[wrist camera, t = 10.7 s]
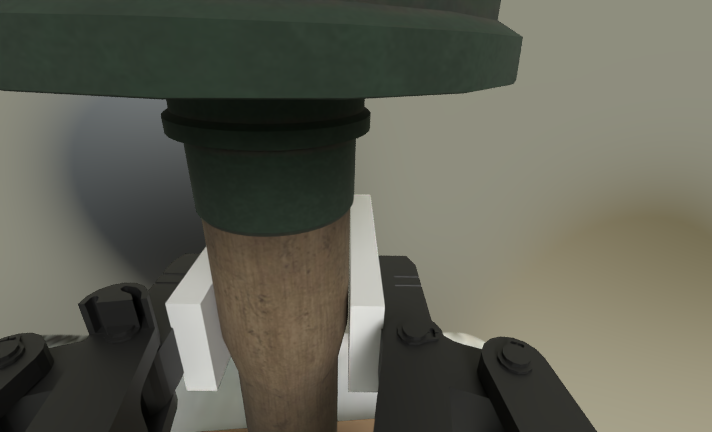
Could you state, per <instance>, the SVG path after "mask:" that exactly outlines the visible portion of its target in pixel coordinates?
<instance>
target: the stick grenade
mask: <svg viewBox="0 0 712 432" xmlns="http://www.w3.org/2000/svg"><path fill="white" fill-rule="evenodd" d="M500 2H501V0H0V90H3V91H17V92H36V93H54V94H73V95H91V96H110V97H128V98H147V99H148V98H149V99H166V101H167V106H168V108H167V109H166V110H165V111H163V112H162V113H161V118H162V123H163V128H164V133H165V134H166V135H167V136H168V137H169V138H171V139H173V140H176V141H179V142H182V143H184V148H185V153H186V158H187V164H188V169H189V175H190V180H191V186H192V191H193V197H194V202H195V207H196V212H197V213H198V215H199V216H200V217H201V219H202V225H203V230H204V236H205V241H206V248H207V253H208V259H209V265H210V271H211V276H212V282H213V288H214V294H215V299H216V305H217V311H218V317H219V322H220V328H221V333H222V338H223V340H224V342H225V344H226V346H227V348H228V351H229V353H230V355H231V357H232V359H233V361H234V363H235V365H236V367H237V369H238V371H239V378H240V384H241V391H242V397H243V403H244V410H245V416H246V423H247V429H248V432H337V396H338V354H339V350H340V347H341V343H342V339H343V336H344V332H345V329H346V325H347V318H348V285H349V241H350V207H351V206H352V204H353V201H354V177H355V146H356V145H355V144H356V138H359V137H361V136H363V135H365V134H366V133H367V132H368V131H369V129H370V111H369V110H368V109H367V108H365V107H364V101H365V100H364V99H366V98H384V97H402V96H420V95H421V96H422V95H441V94H459V93H467V92H473V91H479V90H484V89H489V88H495V87H501V86H506V85H511V84H513V83H514V82H515V81H516V77H517V71H518V64H519V57H520V52H521V46H522V39H523V37H522V36H520V35H519V34H517V33H516V32H514V31H513V30H511V29H510V28H508V27H507V26H505V25H504V24H502V23H501V22H499V21H498V14H499V9H500Z"/></svg>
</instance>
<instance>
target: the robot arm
mask: <svg viewBox="0 0 712 432" xmlns="http://www.w3.org/2000/svg"><path fill="white" fill-rule="evenodd" d="M78 306H79V308H80V311H81V314H82V316H83V319H84V322H85V324H86V327H87V329H88V332H89V336H88V338H87V339H86V340H85V341H81V342H77V343H72V344H67V345H62V346H57V347H52V348H48V346H47V344H46V342H45V340H44V339H43V337H42V336H41V335H38V334H34V333H22V334H16V335H12V336H8V337H4V338H2V339H0V432H170V431H171V427H172V424H173V420H174V417H175V413H176V410H177V401H178V399H177V395H176V392H175V389H176V388H177V386H178V384H179V382H180V380H181V378H182V376H183V377H184V381H185V385H186V389H187V391H218V388H219V386H220V383H221V380H222V378H223V375H224V373H225V370H226V367H227V365H228V362H229V360H230V357H231V355H230V353H229V351H228V348H227V346H226V344H225V342H224V340H223V338H222V333H221V328H220V322H219V317H218V311H217V305H216V299H215V294H214V288H213V282H212V276H211V271H210V265H209V259H208V253H207V248H206V247H205V249H204V250H203V252H202V253H201V254H184V255H183V256H181V257H180V258H178V259H176V260H175V261H173V262H172V263H171V264H170V265H169V266H168V268H167V269H166V270H165V271H164V272H163V275H161V276H160V277H159V278H158V280H157V281H156V283H155V284H153V286H152V287H151V288H150V289H149V290H147V289H146V287H145V286H143V285H140V284H138V283H121V284H115V285H111V286H108V287H105V288H102V289H99V290H97V291H95V292H94V293H92V294H90V295H88V296H87V297H85V298H84V299H83V300H82V301H81V302H80V303H79V304H78ZM348 392H378V395H377V403H376V412H375V421H374V429H373V432H597V431H596V430H595V428H594V427H593V425H592V424H591V423H590V421H589V420H588V418H587V417H586V416H585V414H584V413H583V411H582V410H581V409H580V407H579V406H578V404H577V403H576V401H575V400H574V399H573V397H572V396H571V394H570V393H569V392H568V390H567V389H566V387H565V386H564V385H563V383H562V382H561V380H560V379H559V378H558V376H557V375H556V373H555V372H554V370H553V369H552V368H551V366H550V365H549V363H548V362H547V361H546V359H545V358H544V357H543V356H542V355H541V354H540V353H539V352H538V351H537V350H536V349H535V348H533V347H531V346H530V345H529V344H527V343H525V342H523V341H520V340H517V339H515V338H509V337H496V338H492V339H490V340H488V341H487V342H486V343H484V345H483V348H482V349H479V348H475V347H471V346H467V345H463V344H460V343H457V342H455V341H452V340H450V339H449V338H447V337H445V336H444V335H443V333H442V330H441V329H440V328H439V327H438V326H437V325H436V324H435V323H434V322H433V321H432V320H431V317H430V314H429V310H428V307H427V303H426V300H425V297H424V294H423V290H422V287H421V283H420V280H419V278H418V273H417V269H416V266H415V264H414V263H413V262H412V261H410V259H409V258H407V256H378V250H377V242H376V234H375V227H374V219H373V211H372V203H371V195H362V194H354V201H353V204H352V206H351V207H350V248H349V366H348Z"/></svg>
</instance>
